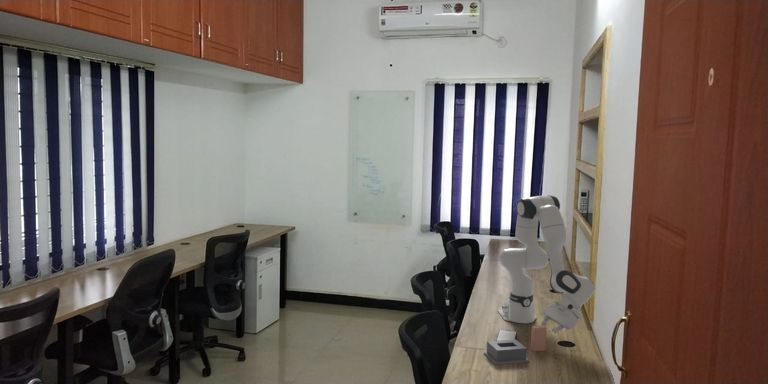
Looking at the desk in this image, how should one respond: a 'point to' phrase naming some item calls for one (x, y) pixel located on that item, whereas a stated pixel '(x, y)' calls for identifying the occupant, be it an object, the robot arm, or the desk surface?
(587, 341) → the desk surface
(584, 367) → the desk surface
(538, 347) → the salmon pink rectangular block
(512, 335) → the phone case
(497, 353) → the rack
